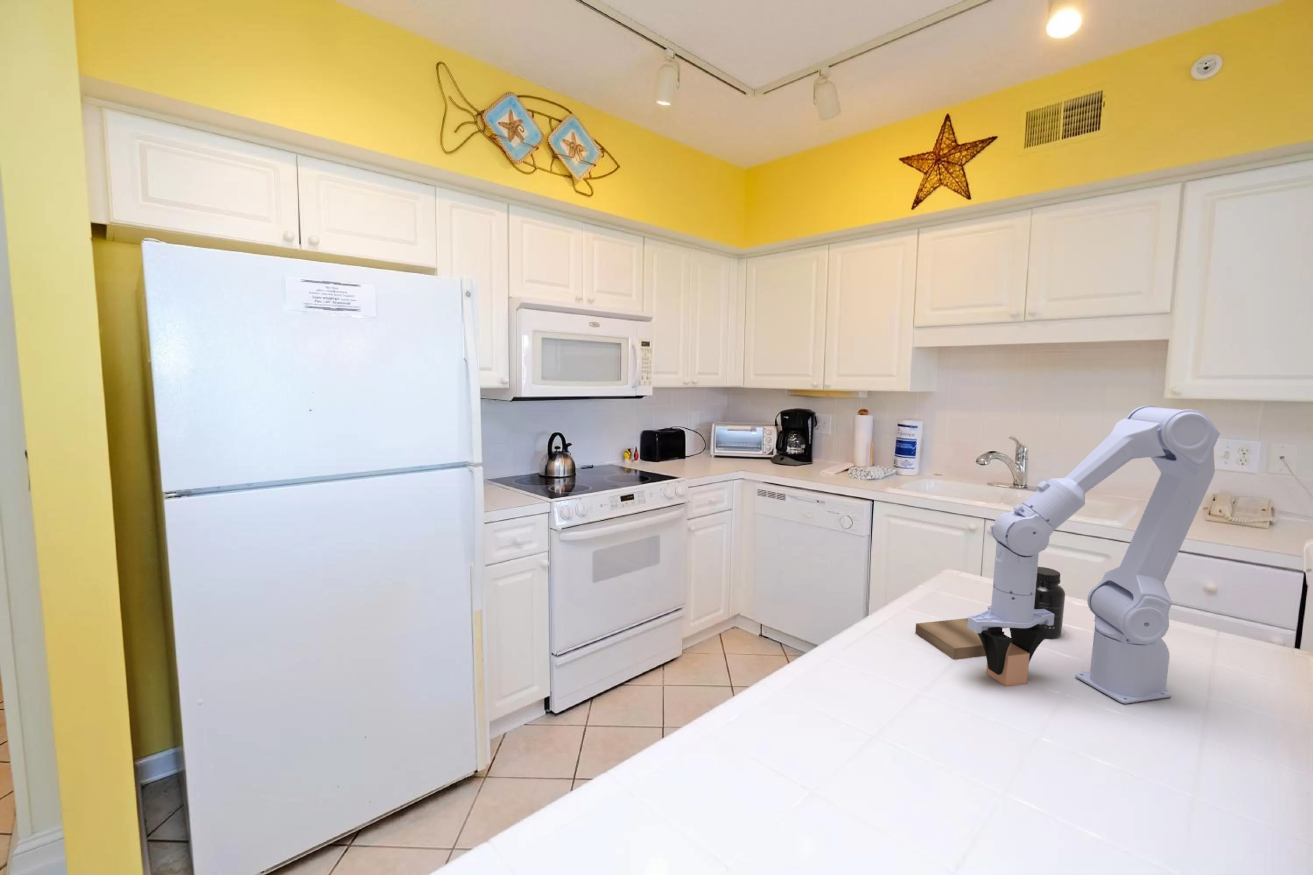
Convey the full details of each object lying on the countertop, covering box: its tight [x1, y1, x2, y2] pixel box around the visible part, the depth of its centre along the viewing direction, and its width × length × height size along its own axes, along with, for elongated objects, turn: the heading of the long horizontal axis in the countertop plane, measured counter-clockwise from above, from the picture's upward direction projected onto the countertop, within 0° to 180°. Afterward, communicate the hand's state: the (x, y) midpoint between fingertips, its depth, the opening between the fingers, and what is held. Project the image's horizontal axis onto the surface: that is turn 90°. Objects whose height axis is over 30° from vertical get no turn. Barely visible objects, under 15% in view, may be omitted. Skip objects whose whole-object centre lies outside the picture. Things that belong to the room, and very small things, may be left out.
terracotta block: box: [985, 643, 1030, 687], centre depth 92 cm, size 4×4×5 cm
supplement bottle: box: [1034, 566, 1066, 639], centre depth 109 cm, size 7×7×12 cm
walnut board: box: [915, 617, 1012, 660], centre depth 105 cm, size 12×10×2 cm
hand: (1006, 669), depth 93 cm, fingers closed on terracotta block, 4 cm apart
